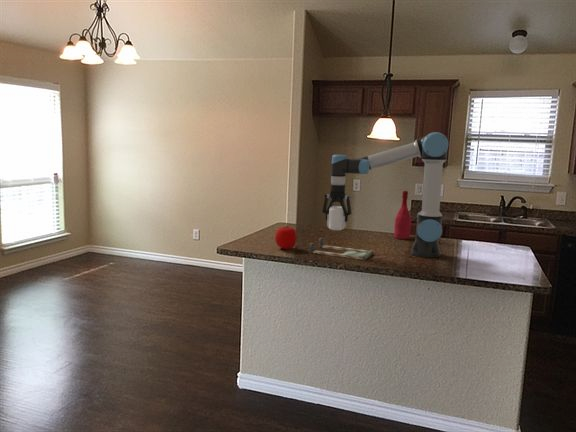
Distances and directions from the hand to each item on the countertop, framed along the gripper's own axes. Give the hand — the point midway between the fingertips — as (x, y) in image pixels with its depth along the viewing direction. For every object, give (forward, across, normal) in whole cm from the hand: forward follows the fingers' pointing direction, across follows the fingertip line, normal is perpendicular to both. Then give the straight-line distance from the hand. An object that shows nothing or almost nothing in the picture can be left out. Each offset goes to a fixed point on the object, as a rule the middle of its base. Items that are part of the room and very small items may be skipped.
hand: (336, 226), depth 249 cm
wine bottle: (+14, -25, -58) cm, 65 cm away
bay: (+14, -4, 0) cm, 14 cm away
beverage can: (+1, 0, 0) cm, 1 cm away
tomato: (+14, +26, +6) cm, 31 cm away
